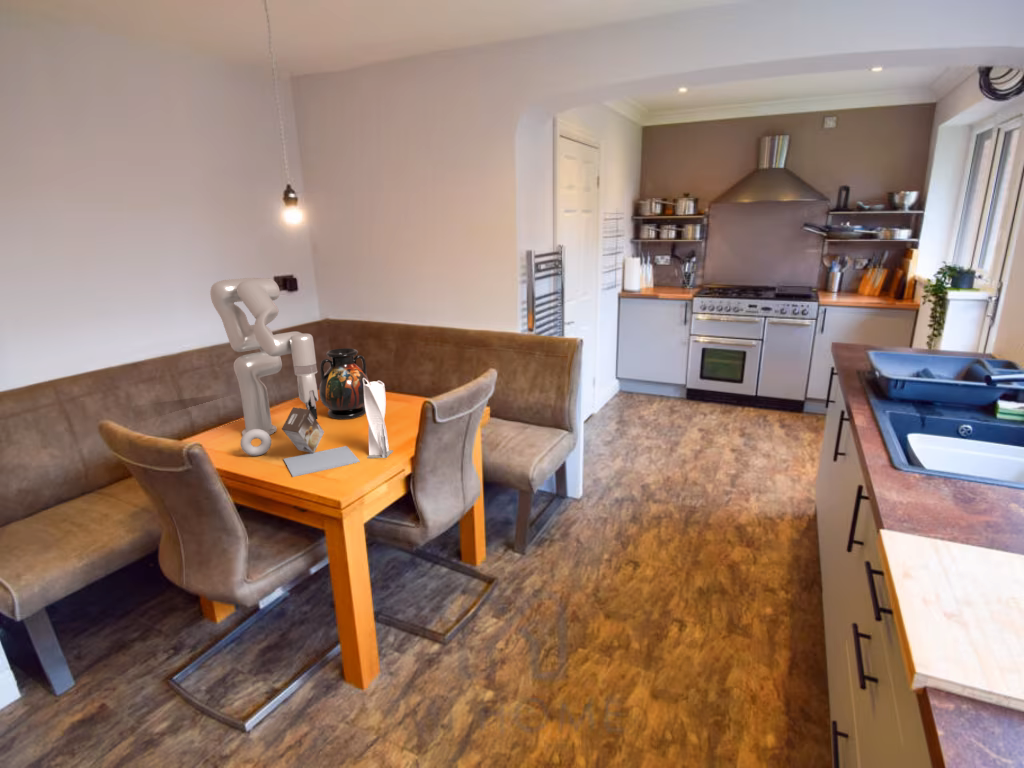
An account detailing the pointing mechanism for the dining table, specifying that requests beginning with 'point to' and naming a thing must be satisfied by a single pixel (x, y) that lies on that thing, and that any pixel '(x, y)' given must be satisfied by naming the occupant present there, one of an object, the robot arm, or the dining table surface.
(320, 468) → the mat
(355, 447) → the dining table surface
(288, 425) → the coffee box
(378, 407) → the skyscraper
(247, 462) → the dining table surface
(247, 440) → the donut
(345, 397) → the amphora vase
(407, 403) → the dining table surface
